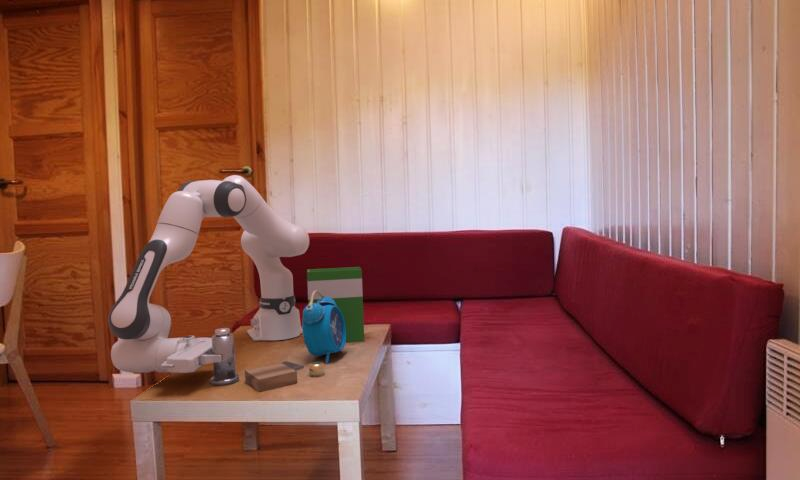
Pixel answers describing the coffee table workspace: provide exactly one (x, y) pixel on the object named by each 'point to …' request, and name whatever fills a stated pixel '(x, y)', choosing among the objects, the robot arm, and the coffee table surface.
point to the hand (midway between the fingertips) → (227, 354)
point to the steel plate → (293, 365)
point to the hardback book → (341, 296)
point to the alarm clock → (323, 327)
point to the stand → (270, 376)
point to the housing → (224, 358)
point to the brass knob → (316, 369)
